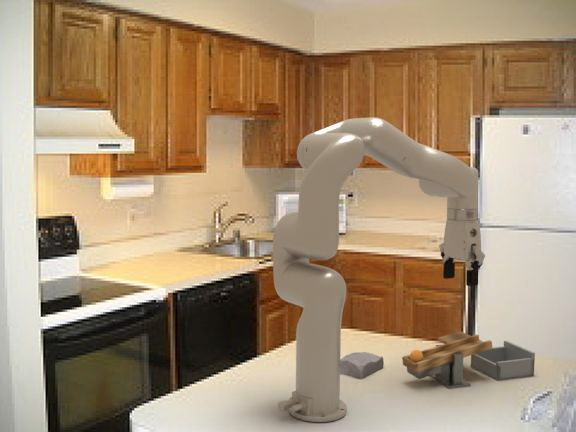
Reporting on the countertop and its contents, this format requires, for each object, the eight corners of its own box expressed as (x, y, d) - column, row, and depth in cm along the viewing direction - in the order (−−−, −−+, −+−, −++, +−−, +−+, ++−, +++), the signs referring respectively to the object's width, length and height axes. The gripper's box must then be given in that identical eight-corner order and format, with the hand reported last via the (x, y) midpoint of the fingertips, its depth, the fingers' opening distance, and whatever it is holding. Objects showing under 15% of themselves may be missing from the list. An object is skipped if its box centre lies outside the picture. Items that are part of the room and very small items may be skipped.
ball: (420, 366, 150) (415, 355, 149) (409, 365, 153) (405, 354, 152) (427, 359, 152) (423, 348, 151) (417, 357, 154) (413, 346, 154)
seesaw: (416, 380, 149) (414, 364, 148) (389, 362, 162) (387, 348, 161) (493, 356, 156) (491, 340, 155) (461, 340, 168) (459, 326, 168)
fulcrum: (449, 388, 150) (450, 356, 149) (426, 374, 159) (427, 344, 159) (470, 385, 152) (471, 354, 151) (447, 372, 161) (448, 342, 161)
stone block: (330, 379, 161) (364, 380, 155) (328, 360, 161) (361, 360, 155) (354, 368, 171) (387, 369, 165) (352, 351, 171) (384, 350, 165)
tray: (497, 380, 156) (498, 357, 155) (470, 366, 166) (471, 344, 165) (533, 375, 159) (534, 352, 159) (505, 362, 170) (506, 340, 169)
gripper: (496, 218, 154) (494, 287, 155) (453, 211, 170) (451, 274, 171) (471, 219, 151) (469, 289, 153) (429, 212, 167) (428, 276, 169)
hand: (460, 281), depth 162 cm, fingers open, 9 cm apart
